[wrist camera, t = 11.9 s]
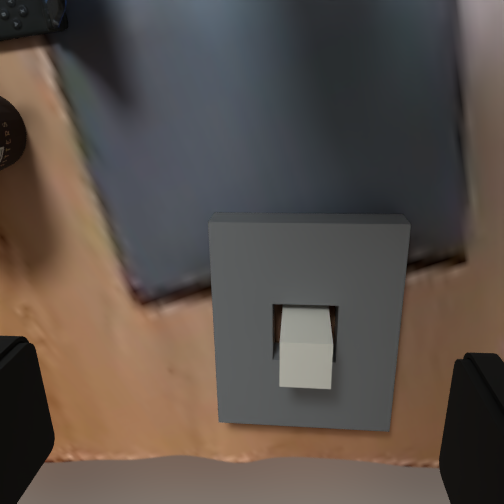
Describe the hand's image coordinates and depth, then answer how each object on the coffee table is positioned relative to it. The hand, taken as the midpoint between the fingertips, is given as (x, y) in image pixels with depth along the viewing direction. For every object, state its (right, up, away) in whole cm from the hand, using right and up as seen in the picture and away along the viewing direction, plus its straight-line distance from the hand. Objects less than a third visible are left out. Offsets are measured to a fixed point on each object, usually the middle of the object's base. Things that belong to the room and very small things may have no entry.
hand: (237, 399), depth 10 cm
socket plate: (+5, -3, +33) cm, 33 cm away
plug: (+5, -3, +33) cm, 33 cm away
